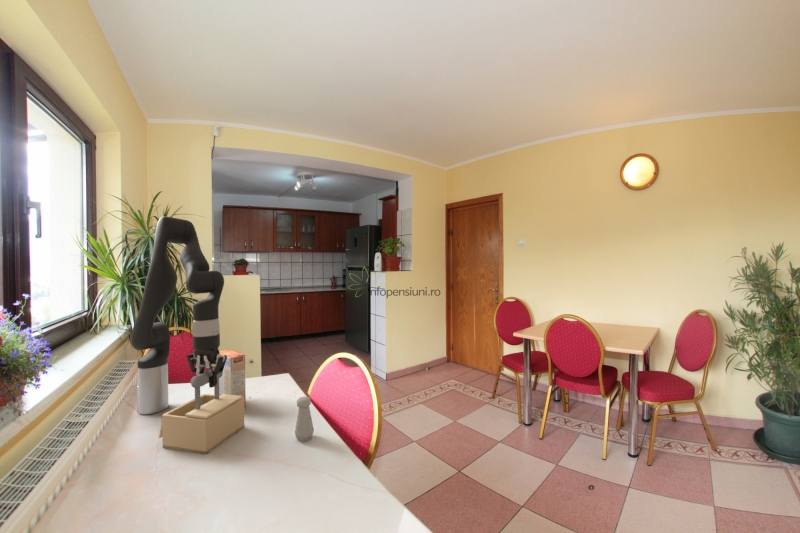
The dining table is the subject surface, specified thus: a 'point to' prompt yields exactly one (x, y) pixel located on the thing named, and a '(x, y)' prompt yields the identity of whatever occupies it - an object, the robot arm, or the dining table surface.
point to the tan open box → (200, 426)
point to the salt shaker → (304, 420)
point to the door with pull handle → (213, 405)
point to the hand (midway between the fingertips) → (207, 385)
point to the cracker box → (233, 375)
